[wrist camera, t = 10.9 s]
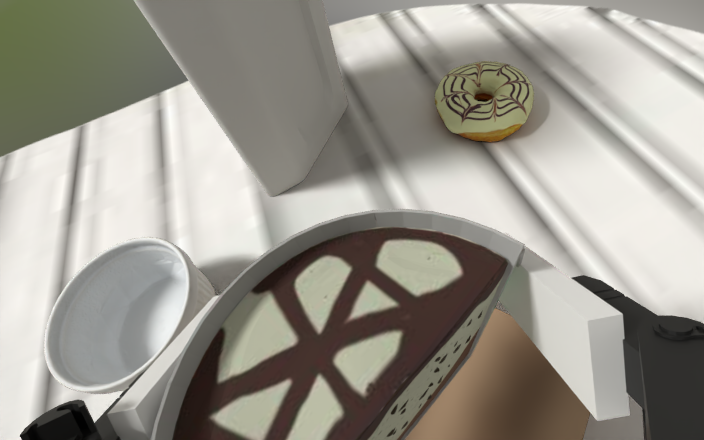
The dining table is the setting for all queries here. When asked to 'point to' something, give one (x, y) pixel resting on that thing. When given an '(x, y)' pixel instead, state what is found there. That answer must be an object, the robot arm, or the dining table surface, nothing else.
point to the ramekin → (122, 314)
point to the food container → (340, 331)
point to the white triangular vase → (259, 77)
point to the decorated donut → (484, 84)
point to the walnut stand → (504, 394)
